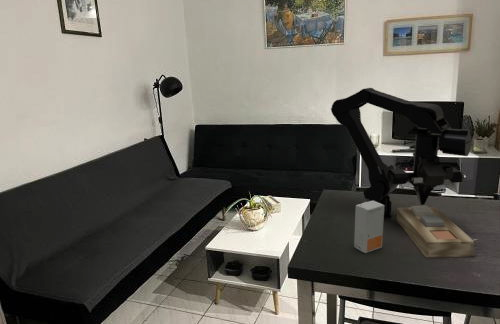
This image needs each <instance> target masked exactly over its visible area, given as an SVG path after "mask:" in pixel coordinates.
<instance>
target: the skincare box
mask: <svg viewBox="0 0 500 324" xmlns="http://www.w3.org/2000/svg"><path fill="white" fill-rule="evenodd" d="M354 211H355V214H354V216H355V217H354V238H353V239H354V240H353V241H354V242H353V244H354V245H353V247H354V248H355V249H357V250H358V251H360V252H362V253H364V254H368V253H370V252H373V251H376V250H379V249H381V248H383V240H384V239H383V236H384V219H385V218H384V205H383V204H380V203H378V202H375V201H369V202H367V201H364V202H362V203H359V204H356V205H355V210H354Z"/></svg>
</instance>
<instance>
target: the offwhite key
mask: <svg viewBox="0 0 500 324" xmlns="http://www.w3.org/2000/svg"><path fill="white" fill-rule="evenodd" d="M429 207H430V206H428V205H411V206H410V208H411V212H412V213H413V214H414V215H415V216H428V215H433V211H432V210H431V209H430V208H429Z"/></svg>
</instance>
